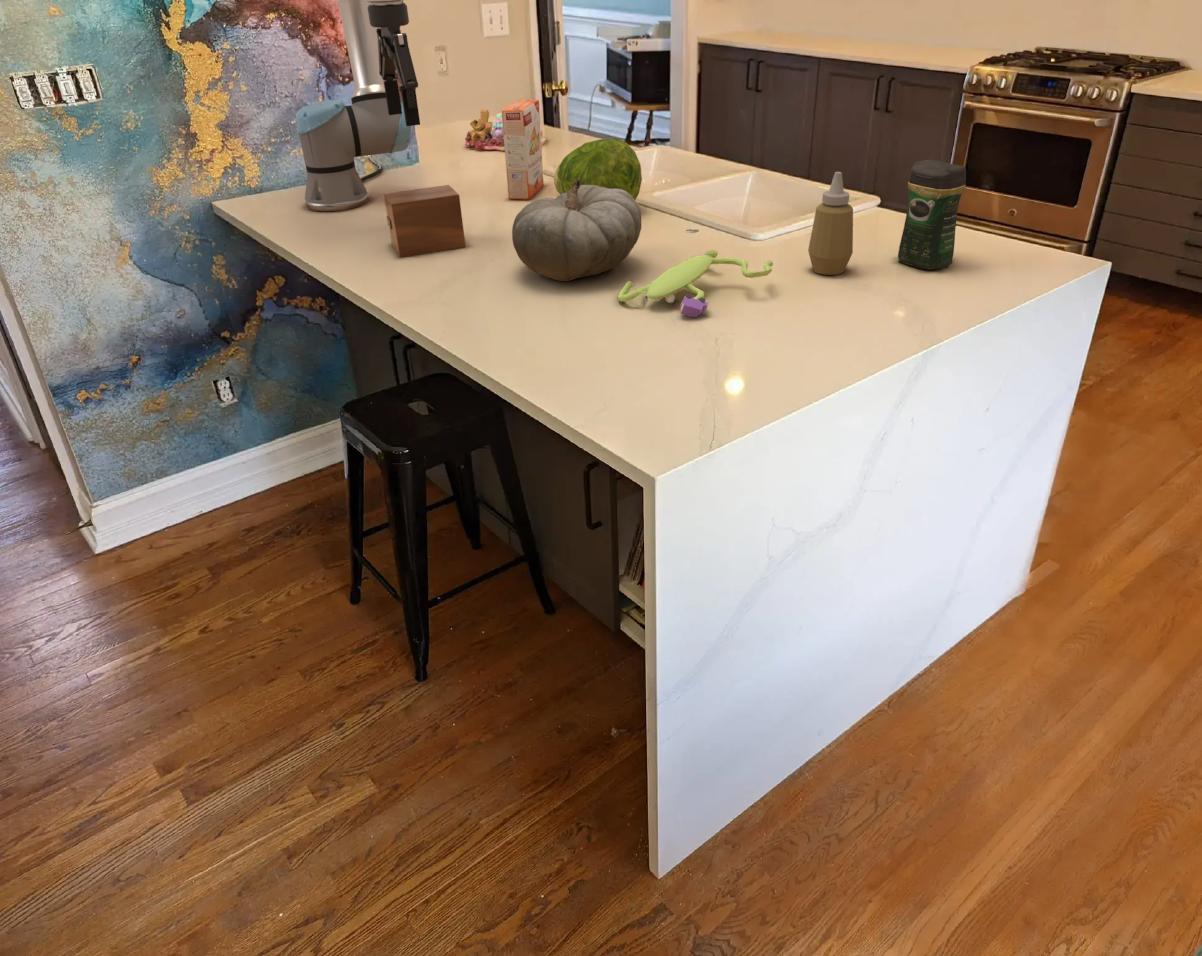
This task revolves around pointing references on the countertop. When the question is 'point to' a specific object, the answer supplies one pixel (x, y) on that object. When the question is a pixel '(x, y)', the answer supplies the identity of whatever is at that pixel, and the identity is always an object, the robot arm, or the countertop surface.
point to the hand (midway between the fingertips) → (404, 119)
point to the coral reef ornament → (488, 133)
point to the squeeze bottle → (832, 231)
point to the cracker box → (523, 148)
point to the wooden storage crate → (425, 220)
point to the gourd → (577, 232)
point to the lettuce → (601, 167)
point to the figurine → (688, 281)
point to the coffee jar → (931, 214)
